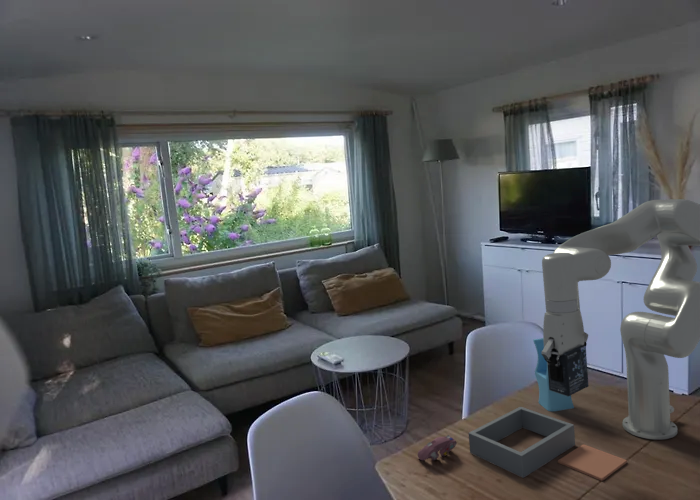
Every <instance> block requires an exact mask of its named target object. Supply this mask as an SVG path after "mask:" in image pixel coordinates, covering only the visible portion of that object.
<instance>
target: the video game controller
mask: <svg viewBox="0 0 700 500" xmlns="http://www.w3.org/2000/svg"><path fill="white" fill-rule="evenodd" d="M456 445H457V441H456V440H455V438H454V437H452V436H450V435H449V434H448V435H446V436H438V437H435V438H434V439H433V440H432V441H430V442H427V444H425V445H424V446H423V447H422V448H421V449H420V450H418V452H417V458H418V459H419V460H420V461H426V460H427V459H431V461H436V460H437V459H438V458H439V456H440V455H441V457H445V456H447V455H449V453H450V451H452V450H453V449H454V448H455V447H456Z"/></svg>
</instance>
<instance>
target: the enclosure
mask: <svg viewBox="0 0 700 500" xmlns="http://www.w3.org/2000/svg"><path fill="white" fill-rule="evenodd" d="M521 429H526V430H528V431H530V432H533V433H536V434H538V435H541V436H543V437H544V438H542V439H540V440H539V441H537V442H535V443H534V444H532V445H530V446H529V447H527V448H525V449H524V450H522V451H520V450H516V449H514V448H512V447H510V446H507V445H505V444H502V443H500V441H501V440H503V439H504V438H506V437H509V436H510V435H512V434H513V433H515V432H517V431H519V430H521ZM575 435H576V434H575V424H572V423H569V422H566V421H564V420H562V419H558V418H555V417H552V416H550V415H546V414H543V413H540V412H537V411H535V410H532V409H528V408H526V407H523V406H518V407H517V408H515V409H513V410H511V411H509V412H507V413H505V414H502V415H501V416H499V417H496V418H495V419H493V420H491V421H489V422H487V423H484V424H483V425H481V426H479V427H477V428H476V429H473V430H471V431H469V432H468V441H469V442H468V445H469V453H470V454H472V455H474V456H476V457H478V458H480V459H483V460H484V461H487V462H489V463H491V464H493V465H495V466H497V467H499V468H500V469H504V471H505V470H506V471H508V472H510V473H511V474H513V475H516V476H518V477H520V478H522V479H524V478H525V477H527V476H529V475H530V474H531V473H533V472H535V471H537V470H539V469H540V468H541V467H543V466H545V465H546V464H548V463H549V462H552V461H553V460H554V459H556V458H557V457H558V456H560V455H561V454H563V453H565V452H567V451H568V450H570V449H572V448H573V447H575V446H576V436H575Z"/></svg>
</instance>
